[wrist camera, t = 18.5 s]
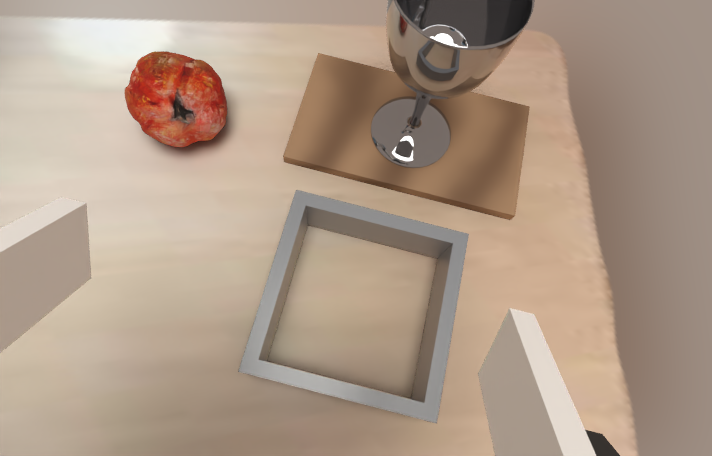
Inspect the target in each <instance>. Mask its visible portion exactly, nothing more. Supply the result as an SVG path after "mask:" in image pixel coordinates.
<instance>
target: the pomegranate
mask: <svg viewBox="0 0 712 456" xmlns="http://www.w3.org/2000/svg"><path fill="white" fill-rule="evenodd" d="M125 99H126V103H127V107H128V110H129V112H130V113H131V115H132V117H133V118H134V119H135V120H137V121H138V122H139V123H140V125H141V128H142V130H143V132H145V133H146V134H147V135H149V136H151V137H152V138H154V139H156V140H157V141H159V142H161V143H164V144H167V145H170V146H175V147H185V146H188V145H190V144H192V143H194V142H197V141H206V140H211V139H213V138H214V137H215V136H216V135H217V134H218V133H219V131H220V130H221V129H222V128H223V127H224V126H225V123H226V115H227V105H226V104H227V102H226V97H225V93H224V89H223V87H222V82H221V79H220V77H219V76H218V75H217V73H216V72H215V71H214V70H213V68H212V67H211V66H210V65H208V64H207V63H206V62H204V61H202V60H195V59H192V58H190V57H187V56H184V55H180V54H176V53H170V52H152V53H149V54H147V55H146V56H144V57H142V58H141V59H139V60H138V62H137V65H136V67H135V69H134V70H133V71H132V74H131V77H130V83H129V85H128V86H127V87H126V89H125Z"/></svg>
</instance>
